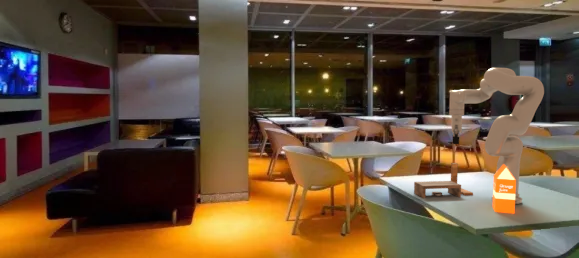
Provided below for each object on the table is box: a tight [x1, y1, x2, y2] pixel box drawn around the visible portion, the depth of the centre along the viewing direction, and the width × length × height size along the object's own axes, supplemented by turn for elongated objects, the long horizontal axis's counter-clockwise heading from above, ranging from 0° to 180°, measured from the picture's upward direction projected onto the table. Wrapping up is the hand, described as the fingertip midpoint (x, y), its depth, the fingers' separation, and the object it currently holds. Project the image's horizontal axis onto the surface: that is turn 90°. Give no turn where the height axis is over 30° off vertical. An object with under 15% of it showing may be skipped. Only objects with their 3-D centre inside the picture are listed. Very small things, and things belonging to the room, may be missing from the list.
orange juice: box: [491, 164, 516, 215], centre depth 178 cm, size 8×9×20 cm
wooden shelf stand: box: [413, 180, 462, 199], centre depth 206 cm, size 10×20×6 cm, turn 98°
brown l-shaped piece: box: [450, 162, 474, 196], centre depth 213 cm, size 15×5×14 cm, turn 8°
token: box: [431, 191, 443, 197], centre depth 206 cm, size 5×5×2 cm
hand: (455, 143), depth 226 cm, fingers open, 9 cm apart
